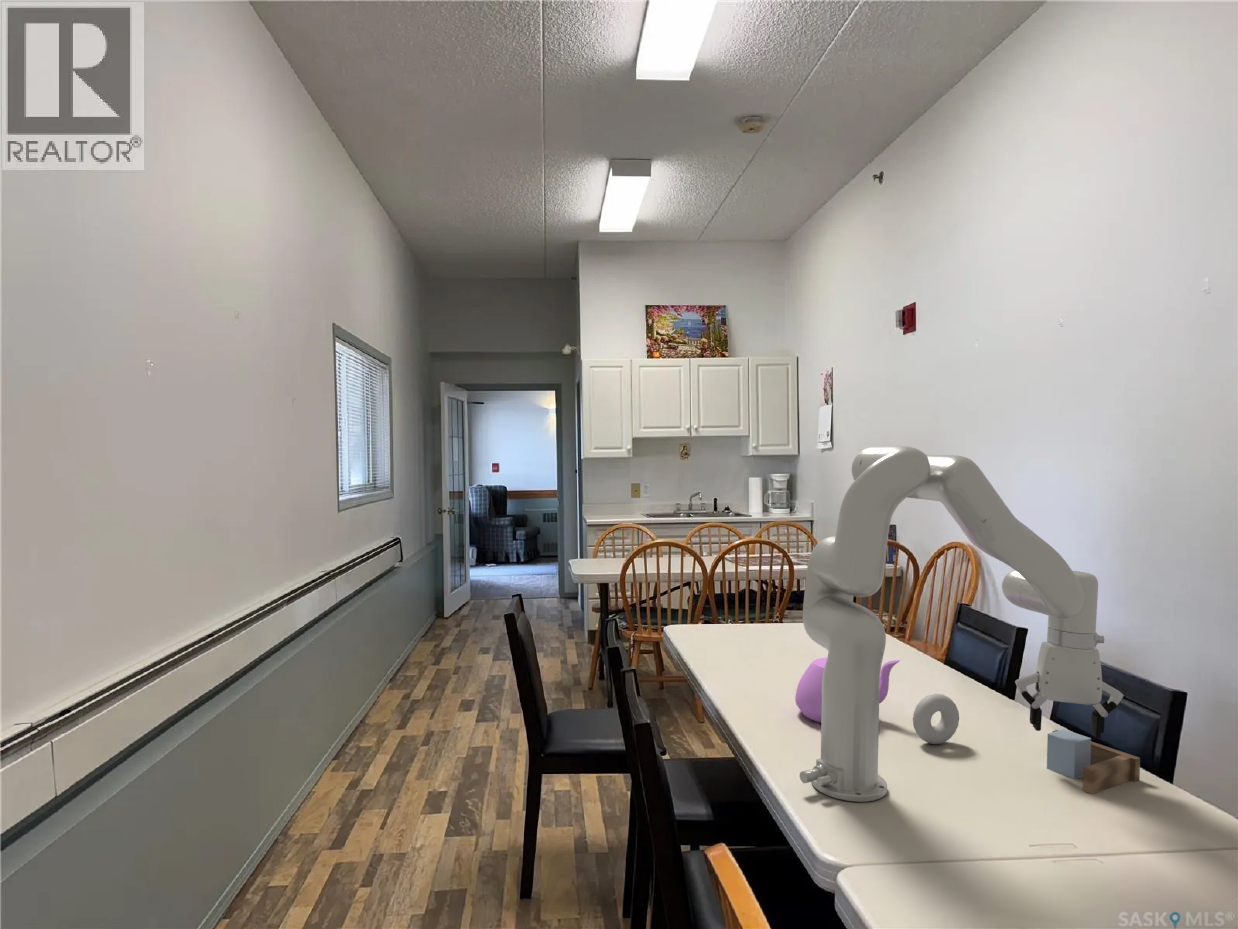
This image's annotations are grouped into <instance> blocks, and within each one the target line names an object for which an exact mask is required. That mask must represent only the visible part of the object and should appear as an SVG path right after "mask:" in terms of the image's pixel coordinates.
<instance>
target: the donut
mask: <svg viewBox="0 0 1238 929" xmlns="http://www.w3.org/2000/svg"><path fill="white" fill-rule="evenodd" d="M958 709H959V708H958V706H957V705H956V703H955V702H954V701H953V699H951V698H950V697H949V696H947V695H945V694H943V693H933V694H928V695H925V697H923V698H922V699H920V700H919V702H918V703H917V704H916V706H915V708H914V711H913V715H912V724H913V729H914V731H915V733H916V735H917V736H918V737H919V738H920V739H921V740H922V741H923V742H926V743H927V744H932V745H939V744H942V743H945V742H946V743H947V742H948V741H949V740H950V739H951V738H952V737H953V735H955V733H956V732H957V729H958V727H959V722H960V713H959V710H958ZM937 712H939V713H940V720H939V722H938V723H937V724H935V725H934V726H933V725H932V719H933V716H934V715H935V714H936V713H937Z"/></svg>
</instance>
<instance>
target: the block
mask: <svg viewBox="0 0 1238 929" xmlns="http://www.w3.org/2000/svg"><path fill="white" fill-rule="evenodd" d="M1091 742H1092V738H1091V737H1088V736H1085V735H1082V734H1079V733H1077V732H1073V731H1070V730H1067V729H1065V728H1064V729H1060V730H1059V731H1056V732H1049V733H1047V746H1046V747H1047V748H1046V749H1047V750H1046V769H1047V770H1049V771H1052V772H1055V773H1057V774H1060V775H1062V776H1066V777H1068V778H1070V779H1073V780H1076V779H1078V778H1081V777H1083V770H1084V767H1087V766H1090V759H1091Z"/></svg>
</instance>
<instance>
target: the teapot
mask: <svg viewBox="0 0 1238 929" xmlns="http://www.w3.org/2000/svg"><path fill="white" fill-rule="evenodd" d="M826 661H827V657H820V658H816V659H814V660H812V662H811V663H810V664H809V665H808V667H806V669H805V671H804V673H803V674H802V675H801V678H800V679H799V681H798V683H797V687H796V691H795V695H794V696H795V704H796V706H797V708H798V709H799V710H800V711H801V713H802V714H803V715H804V716H805V717H807V718H808V719H810V720H812V721H815V722H817V723H821V719H822V677H823V671H824V667H825V664H826ZM900 661H901V659H896V660H890V661H887V662H884V663H883V664H882V665H881V672H880V685H879V705H880V704H881V703H882V702H883V701H885V700H886V698H887V695H888V693H889V687H890V686H889V684H890V673H891V671H892V669H893V668H894V666H896V664H898V663H899V662H900Z"/></svg>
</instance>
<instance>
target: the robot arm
mask: <svg viewBox="0 0 1238 929" xmlns="http://www.w3.org/2000/svg"><path fill="white" fill-rule="evenodd" d="M851 474H852V475H851V476H852V478H853V480H854V481H853V482H852V484H850V486H849V487H848V489H847V491H846V492H845V495H844V496H843V499H842V502H841V505H840V508H839V514H838V520H837V526H836V532H835V535H833V536H828V537H826V538H823V539H822V540H820V541H819V542H818V543H816V545H815V546H814V547H813V549H812V551H811V552H810V555H809V558H808V562H807V567H806V568H807V569H806V576H805V586H804V593H803V594H804V596H803V604H802V605H803V606H802V623H803V628H804V631H805V632H806V634H807V635H808V637H809V638H810V639H811V640H812V642H814V643H816V644H817V645H819V646H821V647H822V648H824V649H826V650H827V651H828V652H827V657H826V658H827V661H826V664H825V667H824V671H823V677H822V719H821V724H820V726H821V729H820V735H821V736H820V758H817V759H816V761H815V765H814V766H813V767H812V769H806V770H802V771H800V772H799V780H800V781H801V782H802V784H808V783H811V784H812V786H813V787H814V788H815V789H816V790H817V791H819V792H820V793H822V794H824V795H826V796H828V797H831V798H834V799H837V800H838V799H839V800H842V801H849V802H854V803H855V802H856V803H857V802H861V803H864V802H873V801H877V800H880V799H881V798H883V797H885V795H887V792H888V784H887V781H886V780H885V779H884V777H882V776H881V775H880V774H878V773H879V770H878V769H879V736H880V735H879V732H880V730H879V727H880V726H879V723H880V704H879V685H880V674H881V669H882V666H883V659H884V655H885V649H886V644H887V639H886V638H887V636H886V629H885V627H884V624H883V623H882V620H881V619H880V617H878V616H877V614H875V612H873V611H872V610H870V609H869V608H868V607H865V606H863V605H861V604H858V603H856V602H854V597H856V598H866V597H871V596H873V595H874V594H876V593H877V592H878V591H879V590H880V589H881V587H882V585H883V582H884V576H885V570H886V558H887V552H888V551H887V548H888V539H889V532H890V526H891V521H892V517H893V515H894V513H895V511H896V510H897V508H898V506H899V505H900V504H901V503H902V502H903V501H904V500H905V499H906V498H907V499H917V500H926V501H934V502H935V501H936V502H939V503H941V504H942V505H943V507H944V508H945V509H946V511H947V512H948V514H950V516H951V517H952V518H953V520H954V521H955V523H956V524H957V525H958V526H959V528H960V530H961V531H962V532H963V533H964V535H965V536H966V537H967V539H968V540H969V542H970V543H971V544H972V545H973V546H975V547H976V548H977V549H979V550H980V551H982V552H983V553H985V554H987V555H988V556H990V557H992V558H995V560H998V561H1000V562H1002V563H1004V564H1005V565H1007V566H1008V567H1010V568H1011V569H1013V570H1011V571H1009V572H1008V573H1007V574H1006V575H1005V576H1004V578H1003V580H1002V583H1001V591H1002V593H1003V596H1004V597H1005V598H1006V600H1007V601H1009V602H1010V603H1011V604H1012V605H1014V606H1016V607H1019V608H1021V609H1025V610H1028V611H1031V612H1036V613H1039V614H1042V615H1046V616H1048V618H1047V619H1048V620H1047V635H1046V637H1047V638H1046V641H1042V642H1041V645H1040V648H1039V650H1038V656H1037V660H1036V661H1037V662H1036V667H1035V673H1031V674H1029V675H1026V676H1023V677H1021V678H1018V679H1016V680H1015V681H1014V683H1015V685H1016V687H1017V689H1018V691H1019V693H1020V695H1021V697H1022V698H1023V699H1024V700H1025V701H1026V702H1027V703H1028V704H1029V705H1030V706H1029V708H1030V709H1029V724H1031V725H1032V727H1033V728H1034V729H1035V731H1037V732H1040V731H1041V730H1042V720H1043V719H1042V716H1043V715H1042V714H1043V711H1042V708H1041V706H1042V705H1043V704H1045V703H1046V702H1047V700H1048V701H1052V702H1061V703H1068V704H1076V705H1077V704H1079V705H1087V706H1091V707H1093V709H1094V710H1093V711H1092V712H1091V719H1090V720H1091V721H1090V733H1091V734H1092V736H1093V737H1095V738H1096V739H1098V740H1100V739H1101V737H1102V734H1104V732H1105V720H1106V719H1105V718H1106V717H1108V716H1109V714H1110V713H1112V712H1113V711H1114V710H1116V709H1117V707H1118V705H1119V704H1120V702H1121V700H1122V699H1123V698H1124V694H1123V693H1122V692H1121V691H1119V690H1118V689H1116V688H1114V687H1112V686H1111V685H1109V684H1107V683H1106V682H1105V681H1103V675H1102V674H1103V673H1102V663H1101V657H1100V651H1099V649H1098V648H1096V647H1097V645H1098V644H1104V643H1105V637H1104V635H1099V634H1098V633H1097V632H1096V631H1097V630H1096V629H1097V613H1098V597H1099V581H1098V578H1097V577H1096V575H1094V574H1092V573H1089V572H1085V571H1079V570H1078V571H1077V570H1072V568H1071V567H1070V565H1069V564H1068V563H1067V562H1066V560H1065V559H1064V557H1063V556H1062V555H1061V554H1060V553H1059V552H1058V551H1057V550H1056V549H1055V548H1054V547H1052V545H1051V544H1049V543H1048V542H1047V541H1045V540H1044V539H1043V538H1042V537H1040V536H1039V535H1038V533H1037V534H1036V533H1035V531H1033V530H1032V529H1031V528H1030V527H1028V526H1027V525H1025V524H1024V523H1023V522H1021V521H1020V520H1018V518H1016V516H1015V515H1014V514H1013V512H1011V510H1010V508H1009V507H1008V505H1007V504H1006V503H1005V502H1004V500H1003V499H1002V497H1001V496H1000V495H999V493H998V492H997V491H996V489H995V487H994V486H993V485H992V483H991V482H990V480H989V479H988V477H986V475H985V473H984V472H983V471H982V469H980V467H979V466H978V465H977V464H976V462H974V461H973V460H972V459H970V458H968V457H965V456H961V455H953V454H952V455H951V454H949V455H945V454H944V455H943V454H926V453H925V452H924V451H922V450H920V449H917V448H916V447H912V446H902V445H895V446H894V445H891V446H871V447H870V446H869V447H866V448H864V449H862V450H861V451H860V452H858V454H856V456H855V457H854V459H853V461H852V463H851ZM1033 684H1034V689H1035V691H1036V692H1034V694H1033V695H1031V694H1030V693H1029V691H1028V689H1027V686H1030V685H1033ZM1103 691H1104V692H1105V693H1108V694H1109V699H1107V700H1106V701H1105V702H1103V703H1102V704H1101V702H1102V699H1103V698H1102V697H1103Z"/></svg>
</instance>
